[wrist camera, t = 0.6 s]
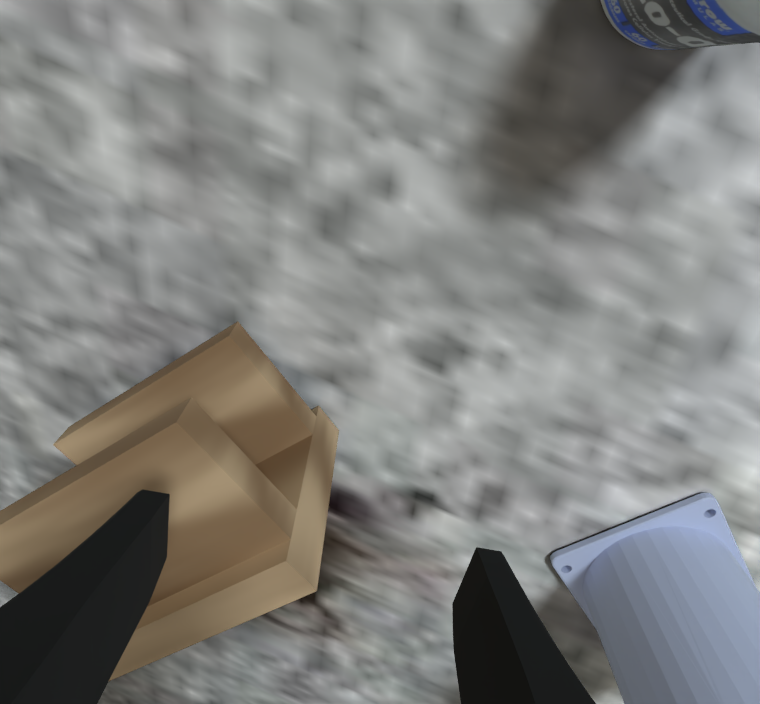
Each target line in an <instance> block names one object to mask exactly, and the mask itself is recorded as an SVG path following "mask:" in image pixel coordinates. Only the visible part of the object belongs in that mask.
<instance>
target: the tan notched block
mask: <svg viewBox="0 0 760 704" xmlns="http://www.w3.org/2000/svg"><path fill="white" fill-rule="evenodd" d="M338 433H339V430H338V429H337V428H336V426H335V425H334V424H333V423H332V421H331V420H330V419H329V418H328V416H327V415H326V414H325V413H324V412H323V410H322V409H321V408H320V407H319V406H317V407H315V408H314V409H312V410H311V409H310V408H309V407H308V406H307V405H306V403H305V402H304V401H303V400H302V399H301V397H300V396H299V395H298V394H297V392H296V391H295V390H294V389H293V388H292V386H291V385H290V384H289V383H288V382H287V380H286V379H285V378H284V377H283V376H282V374H281V373H280V372H279V371H278V369H277V368H276V367H275V366H274V365H273V363H272V362H271V361H270V360H269V359H268V357H267V356H266V355H265V354H264V353H263V351H262V350H261V349H260V348H259V346H258V345H257V344H256V343H255V342H254V340H253V339H252V338H251V337H250V336H249V334H248V333H247V332H246V331H245V330H244V328H243V327H242V326H241V325H240V323H239V322H236V323H235V324H233V325H231V326H230V327H228V328H227V329H225V330H223V331H222V332H220V333H219V334H217V335H215V336H214V337H212V338H211V339H209V340H207V341H206V342H204V343H203V344H201V345H199V346H198V347H196V348H195V349H193V350H191V351H190V352H188V353H187V354H185V355H183V356H182V357H180V358H179V359H177V360H175V361H174V362H172V363H171V364H169V365H167V366H166V367H164V368H163V369H161V370H159V371H158V372H156V373H155V374H153V375H151V376H150V377H148V378H147V379H145V380H143V381H142V382H140V383H139V384H137V385H135V386H134V387H132V388H131V389H129V390H127V391H126V392H124V393H123V394H121V395H119V396H118V397H116V398H115V399H113V400H111V401H110V402H108V403H107V404H105V405H103V406H102V407H100V408H99V409H97V410H95V411H94V412H92V413H91V414H89V415H87V416H86V417H84V418H83V419H81V420H79V421H78V422H76V423H75V424H73V425H71V426H70V427H69V428H68V429H67V430H66V431H65V432H64V433H63V434H62V435H61V437H60V438H59V439H58V440H57V441H56V442H55V443H54V444H53V445H54V446H55V447H56V448H57V449H59V450H60V451H61V452H62V453H63V454H64V455H65V456H67V457H68V458H69V459H70V460H71V461H72V462H73V463H74V464H76V465H77V466H75V467H73V468H72V469H70V470H68V471H67V472H65V473H63V474H62V475H60V476H58V477H57V478H55V479H53V480H52V481H50V482H48V483H47V484H45V485H43V486H42V487H40V488H38V489H36V490H35V491H33V492H31V493H30V494H28V495H26V496H25V497H23V498H21V499H20V500H18V501H16V502H15V503H13V504H11V505H10V506H8V507H6V508H5V509H3V510H1V511H0V580H1V581H2V582H3V583H5V584H6V585H8V586H9V587H10V588H12V589H13V590H15V591H16V592H17V593H21V592H22V591H23V590H24V589H26V588H27V587H28V586H30V585H31V584H32V583H33V582H35V581H36V580H37V579H39V578H40V577H41V576H42V575H44V574H45V573H46V572H47V571H49V570H50V569H51V568H53V567H54V566H55V565H56V564H58V563H59V562H60V561H61V560H62V559H64V558H65V557H66V556H67V555H68V554H70V553H71V552H72V551H73V550H74V549H75V548H77V547H78V546H79V545H80V544H81V543H82V542H84V541H85V540H86V539H87V538H88V537H90V536H91V535H92V534H93V533H94V532H95V531H96V530H97V529H99V528H100V527H101V526H102V525H103V524H104V523H105V522H106V521H107V520H109V519H110V518H111V517H112V516H113V515H114V514H115V513H116V512H117V511H118V510H119V509H120V508H121V507H123V506H124V505H125V504H126V503H127V502H128V501H129V500H130V499H131V498H132V497H133V496H134V495H135V494H136V493H137V492H139V491H141V490H142V489H144V490H149V491H155V492H161V493H167V494H170V499H169V522H168V545H167V558H166V561H165V563H164V566H163V569H162V571H161V574H160V577H159V579H158V582H157V584H156V587H155V589H154V592H153V594H152V597H151V599H150V602H149V604H148V606H147V608H146V610H145V612H144V614H143V616H142V618H141V620H140V622H139V623H138V625H137V627H136V629H135V631H134V633H133V635H132V637H131V639H130V641H129V643H128V645H127V647H126V649H125V651H124V652H123V654H122V656H121V658H120V660H119V662H118V664H117V666H116V668H115V670H114V672H113V674H112V676H111V677H110V679H109V681H110V680H113V679H115V678H117V677H120V676H122V675H124V674H127V673H129V672H131V671H133V670H136V669H138V668H140V667H143V666H145V665H147V664H150V663H152V662H154V661H157V660H159V659H161V658H163V657H166V656H168V655H170V654H173V653H175V652H177V651H180V650H182V649H184V648H187V647H189V646H191V645H193V644H196V643H198V642H200V641H203V640H205V639H207V638H210V637H212V636H214V635H217V634H219V633H221V632H223V631H226V630H228V629H230V628H233V627H235V626H237V625H240V624H242V623H244V622H247V621H249V620H251V619H253V618H256V617H258V616H260V615H263V614H265V613H267V612H270V611H272V610H274V609H277V608H279V607H281V606H283V605H286V604H288V603H290V602H293V601H295V600H297V599H300V598H302V597H304V596H306V595H309V594H311V593H313V592H316V591H317V586H318V579H319V572H320V565H321V557H322V550H323V543H324V535H325V528H326V521H327V514H328V506H329V499H330V492H331V484H332V477H333V470H334V462H335V455H336V448H337V441H338Z"/></svg>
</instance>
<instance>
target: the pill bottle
mask: <svg viewBox="0 0 760 704" xmlns="http://www.w3.org/2000/svg"><path fill="white" fill-rule="evenodd" d="M600 1H601V4H602V7H603V9H604V12H605V14H606V16H607V18H608V19H609V21H610V23H611V24H612V26H613V27H614V28H615V29H616V30H617V31H618V32H619V33H620V34H621V35H623V36H624V37H625V38H627V39H628V40H630V41H631V42H633V43H635V44H637V45H640V46H642V47H645V48H649V49H656V50H676V49H686V48H698V47H710V46H721V45H733V44H745V43H754V42H758V43H760V0H600Z"/></svg>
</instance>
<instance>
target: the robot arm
mask: <svg viewBox="0 0 760 704" xmlns="http://www.w3.org/2000/svg"><path fill="white" fill-rule="evenodd" d="M169 499H170V494H167V493H161V492H155V491H149V490H144V489H142V490H141V491H139V492H137V493H136V494H135V495H134V496H133V497H132V498H131V499H130V500H129V501H128V502H127V503H126V504H125V505H124V506H123V507H121V508H120V509H119V510H118V511H117V512H116V513H115V514H114V515H113V516H112V517H111V518H110V519H109V520H107V521H106V522H105V523H104V524H103V525H102V526H101V527H100V528H99V529H97V530H96V531H95V532H94V533H93V534H92V535H91V536H90V537H88V538H87V539H86V540H85V541H84V542H82V543H81V544H80V545H79V546H78V547H77V548H75V549H74V550H73V551H72V552H71V553H70V554H68V555H67V556H66V557H65V558H64V559H62V560H61V561H60V562H59V563H58V564H56V565H55V566H54V567H53V568H51V569H50V570H49V571H47V572H46V573H45V574H44V575H42V576H41V577H40V578H39V579H37V580H36V581H35V582H33V583H32V584H31V585H30V586H28V587H27V588H26V589H24V590H23V591H22V592H21V593H19V594H18V595H17V596H15V597H14V598H12V599H11V600H10V601H8V602H7V603H6V604H4V605H3V606H2V607H0V704H97V702H98V701H99V699H100V697H101V695H102V693H103V691H104V689H105V687H106V685H107V683H108V681H109V679H110V677H111V676H112V674H113V672H114V670H115V668H116V666H117V664H118V662H119V660H120V658H121V656H122V654H123V652H124V651H125V649H126V647H127V645H128V643H129V641H130V639H131V637H132V635H133V633H134V631H135V629H136V627H137V625H138V623H139V622H140V620H141V618H142V616H143V614H144V612H145V610H146V608H147V606H148V604H149V602H150V599H151V597H152V594H153V592H154V589H155V587H156V584H157V582H158V579H159V577H160V574H161V571H162V569H163V566H164V563H165V561H166V558H167V545H168V522H169ZM707 510H708V511H707ZM550 560H551V563H552V566H553V568H554V569H555V570H556V572H557V573H558V575H559V576H560V578H561V579H562V581H563V582H564V584H565V585H566V586H567V588H568V589H569V591H570V592H571V594H572V595H573V597H574V598H575V600H576V601H577V602H578V604H579V605H580V607H581V608H582V610H583V611H584V613H585V614H586V616H587V617H588V618H589V620H590V621H591V623H592V624H593V626H594V627H595V629H596V630H597V632H598V635H599V637H600V640H601V643H602V645H603V648H604V651H605V653H606V656H607V658H608V661H609V664H610V666H611V669H612V672H613V674H614V677H615V680H616V682H617V685H618V688H619V690H620V693H621V696H622V698H623V701H624V704H760V592H759V591H758V589H757V588H756V586H755V584H754V582H753V579H752V577H751V575H750V573H749V570H748V568H747V566H746V564H745V562H744V559H743V557H742V555H741V553H740V550H739V548H738V546H737V544H736V542H735V539H734V537H733V535H732V533H731V530H730V528H729V526H728V524H727V522H726V519H725V517H724V515H723V513H722V510H721V508H720V506H719V504H718V502H717V500H716V499H715V498H714V496H713V495H712V494H710V493H701V494H698V495H695V496H693V497H690V498H688V499H685V500H683V501H680V502H678V503H675V504H673V505H670V506H668V507H665V508H663V509H660V510H658V511H655V512H653V513H650V514H648V515H645V516H643V517H640V518H638V519H635V520H633V521H630V522H628V523H625V524H623V525H620V526H618V527H615V528H613V529H610V530H608V531H605V532H603V533H600V534H598V535H595V536H593V537H590V538H588V539H585V540H583V541H580V542H578V543H575V544H573V545H570V546H568V547H565V548H563V549H560V550H558V551H555V552H554V553H552V555H551V556H550ZM453 641H454V655H455V662H456V670H457V677H458V684H459V691H460V698H461V704H595V702H594V701H593V699H592V698H591V697H590V695H589V694H588V692H587V691H586V690H585V688H584V687H583V685H582V684H581V682H580V681H579V679H578V678H577V676H576V675H575V673H574V672H573V671H572V669H571V668H570V666H569V665H568V663H567V662H566V660H565V658H564V657H563V655H562V654H561V652H560V651H559V649H558V648H557V646H556V644H555V643H554V641H553V640H552V638H551V636H550V635H549V633H548V631H547V630H546V628H545V627H544V625H543V623H542V622H541V620H540V618H539V617H538V615H537V613H536V612H535V610H534V608H533V606H532V605H531V603H530V601H529V600H528V598H527V596H526V594H525V593H524V591H523V589H522V587H521V585H520V584H519V582H518V580H517V578H516V577H515V575H514V573H513V571H512V569H511V568H510V566H509V564H508V562H507V561H506V559H505V557H504V555H503V554H502V552H500V551H495V550H489V549H483V548H477V547H476V550H475V552H474V554H473V557H472V559H471V561H470V564H469V566H468V568H467V571H466V573H465V576H464V578H463V580H462V583H461V585H460V587H459V590H458V592H457V594H456V597H455V599H454V602H453Z"/></svg>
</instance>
